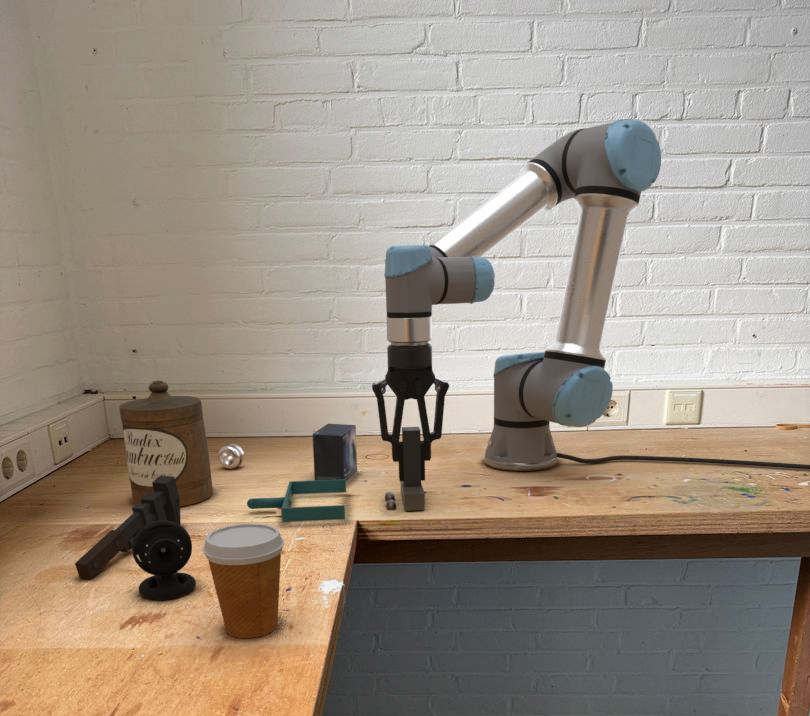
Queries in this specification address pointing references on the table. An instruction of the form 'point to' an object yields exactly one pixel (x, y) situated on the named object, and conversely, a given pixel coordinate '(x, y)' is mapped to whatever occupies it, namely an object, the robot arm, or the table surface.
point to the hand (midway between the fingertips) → (411, 478)
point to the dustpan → (305, 512)
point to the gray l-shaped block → (412, 470)
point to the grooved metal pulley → (226, 456)
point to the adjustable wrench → (133, 526)
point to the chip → (389, 496)
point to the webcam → (163, 559)
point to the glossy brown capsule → (390, 505)
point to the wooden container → (166, 444)
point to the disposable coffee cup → (246, 576)
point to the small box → (335, 452)
